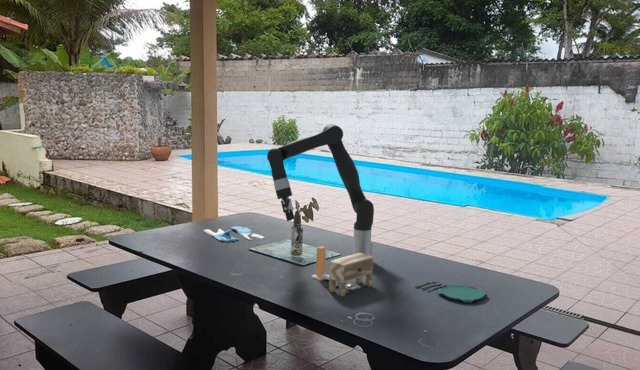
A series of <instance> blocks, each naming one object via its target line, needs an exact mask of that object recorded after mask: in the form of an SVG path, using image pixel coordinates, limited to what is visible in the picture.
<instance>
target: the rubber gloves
mask: <svg viewBox="0 0 640 370" xmlns="http://www.w3.org/2000/svg"><path fill="white" fill-rule="evenodd" d="M233 230H236V233H237V234H238V235H240V236H242V237H243V238H244V239H246V240H248V241H253V239H252V238H250V237H255V238H258V239H261V240H262V239H267V238H266V236H263V235H260V234H257V233H254V231H252V230H251V229H250V228H248V227H247V226H245V227H243V226H237V225H236V226H234V225H233V226H232V227H230V229H228V230H226V231H224V230H222V229H221V228H218V229H217V232H214V231H212V230H211V229H207V228H206V229H203V232H204V233H205V234H207V235H209V236H211V237H213V238H215V240H218V241H220V242H226V243H229V242H235V241H237V242H238V241H240V238H238V237H237V238H235V237H234V236H233V235H232V234H231V233H232V232H233ZM249 235H250V237H249Z"/></svg>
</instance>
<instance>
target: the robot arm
mask: <svg viewBox="0 0 640 370" xmlns="http://www.w3.org/2000/svg"><path fill="white" fill-rule="evenodd" d="M343 131H344V130H343V129H342V128H341V127H340V126H339V125H336V124H327V125H325V126H324V127H323V129H322V132H319V133H316V134H314V135H311V136H308V137H304V138H299V139H296V140H294V141H290V142H288V143H286V144H285V145H282V146H280V147H278V148H276V147H275V148H271V149H269V150H268V151H267V155H266V159H267V161H268V163H269V166H270V170H271V171H270V172H271V177H272V181H273V186H274V190H275V194H276V198H277V199H278V200H280V199H281V200H280V203H281V207H282V212H283V214H284V215H285V218H286V221H287V222H290V221H293V220H295V215H294V207H293V202H292V199H291V198H290V197H292V196H293V192H292V188H291V184H290V181H289V179H288V175H287V171H286V168H285V163H284V161H285V160H287V159H290V158H292V157H295V156H296V157H297V156H299V155H301V154H303V153H306V152H308V151H311V150H314V149H317V148H319V147H323V146H327V147H328V148H329V150H330V152H331V155H332V159H333V161H334V164H335V167H336V169H337V172H338V174H339V177H340V179H341V182H342V183H343V185H344V187H345V189H346V191H347V194H348V197H349V199H350V202H351V206H352V210H353V211H354V213H355V214H356V220H355V222H354V224H353V243H352V244H353V247H352V255H353V254H356V253H363V254H366V255H370V256H373V243H372V227H373V223H374V215H375V213H374V212H375V209H374V204H373V202H372V201H370V200H369V199H367V197H366V196H365V194H364V192H363V190H362V188H361V187H362V186H361V182H360V175H359V172H358V169H357V167H356V164H355V162H354V161H353V158H352V156H351V155H350V154H349V153H348V151H347V149H346V148H345V145H344V143H343V141H342V139H343V138H344V132H343Z"/></svg>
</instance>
